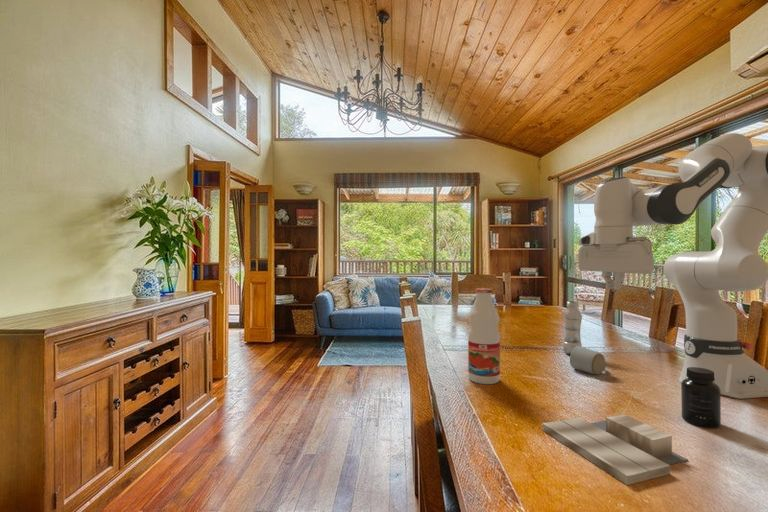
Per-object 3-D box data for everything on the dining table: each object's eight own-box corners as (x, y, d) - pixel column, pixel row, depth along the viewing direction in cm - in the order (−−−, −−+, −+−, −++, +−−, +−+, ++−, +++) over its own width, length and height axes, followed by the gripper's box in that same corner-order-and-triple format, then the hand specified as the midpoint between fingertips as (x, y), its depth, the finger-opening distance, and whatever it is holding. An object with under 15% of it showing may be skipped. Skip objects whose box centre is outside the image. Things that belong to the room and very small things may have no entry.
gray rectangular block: (606, 417, 78) (652, 440, 69) (623, 414, 80) (671, 435, 70) (606, 433, 79) (652, 458, 69) (623, 430, 80) (671, 453, 70)
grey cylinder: (593, 377, 114) (593, 352, 114) (569, 370, 121) (569, 347, 121) (612, 372, 119) (612, 348, 119) (587, 365, 126) (588, 343, 126)
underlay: (584, 425, 83) (583, 424, 83) (607, 420, 85) (607, 420, 85) (660, 467, 66) (660, 466, 66) (688, 460, 69) (688, 459, 69)
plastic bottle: (558, 352, 142) (558, 301, 142) (572, 351, 144) (572, 300, 144) (571, 357, 136) (571, 303, 136) (586, 355, 138) (586, 302, 138)
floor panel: (542, 430, 81) (542, 423, 81) (578, 423, 84) (578, 416, 84) (627, 485, 61) (627, 475, 61) (670, 474, 64) (670, 465, 64)
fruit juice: (501, 376, 115) (501, 287, 115) (497, 386, 107) (497, 290, 106) (471, 372, 119) (471, 286, 119) (465, 382, 110) (465, 289, 110)
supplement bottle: (681, 412, 89) (681, 363, 89) (719, 420, 84) (719, 369, 84) (681, 423, 83) (681, 370, 83) (721, 432, 79) (722, 377, 79)
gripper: (660, 236, 90) (660, 292, 90) (591, 239, 110) (591, 285, 110) (641, 236, 88) (641, 293, 88) (574, 239, 108) (574, 286, 108)
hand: (613, 289), depth 99 cm, fingers closed
